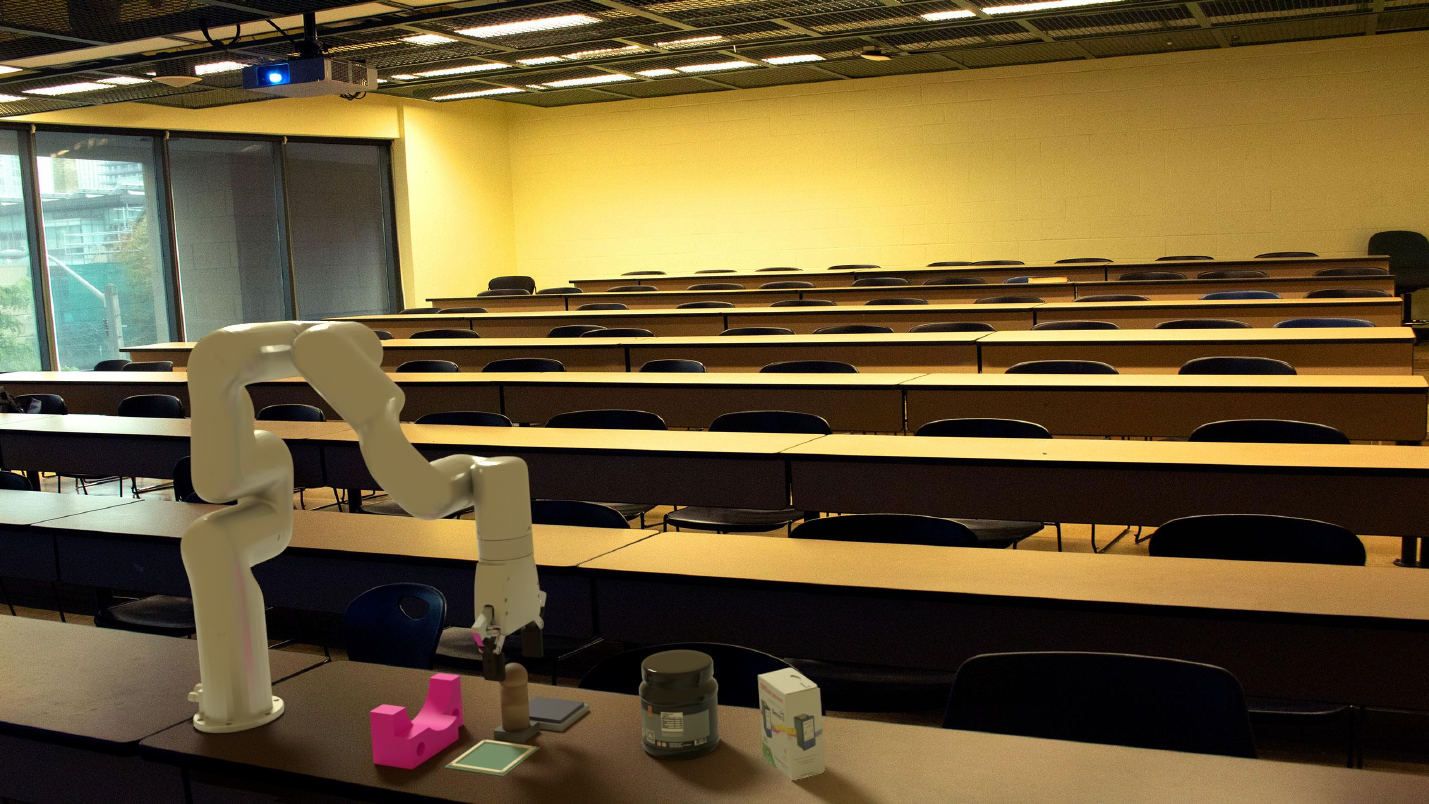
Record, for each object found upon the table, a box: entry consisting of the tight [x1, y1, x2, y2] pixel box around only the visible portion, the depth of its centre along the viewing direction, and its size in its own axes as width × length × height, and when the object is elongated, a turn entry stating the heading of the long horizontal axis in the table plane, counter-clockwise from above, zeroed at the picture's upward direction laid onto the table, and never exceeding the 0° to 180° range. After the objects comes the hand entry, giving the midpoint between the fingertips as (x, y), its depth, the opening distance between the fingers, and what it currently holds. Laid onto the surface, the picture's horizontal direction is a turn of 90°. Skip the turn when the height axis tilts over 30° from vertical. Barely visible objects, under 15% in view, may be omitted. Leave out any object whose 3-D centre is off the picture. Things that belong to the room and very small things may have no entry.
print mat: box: [444, 739, 541, 777], centre depth 150 cm, size 9×9×1 cm
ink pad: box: [528, 695, 590, 732], centre depth 164 cm, size 9×8×2 cm
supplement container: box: [638, 649, 720, 761], centre depth 151 cm, size 10×10×12 cm
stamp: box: [493, 662, 540, 744], centre depth 157 cm, size 4×4×10 cm
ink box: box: [757, 667, 826, 780], centre depth 143 cm, size 9×5×12 cm, turn 23°
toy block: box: [369, 672, 464, 770], centre depth 156 cm, size 15×6×8 cm, turn 158°
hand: (514, 668), depth 156 cm, fingers open, 9 cm apart
